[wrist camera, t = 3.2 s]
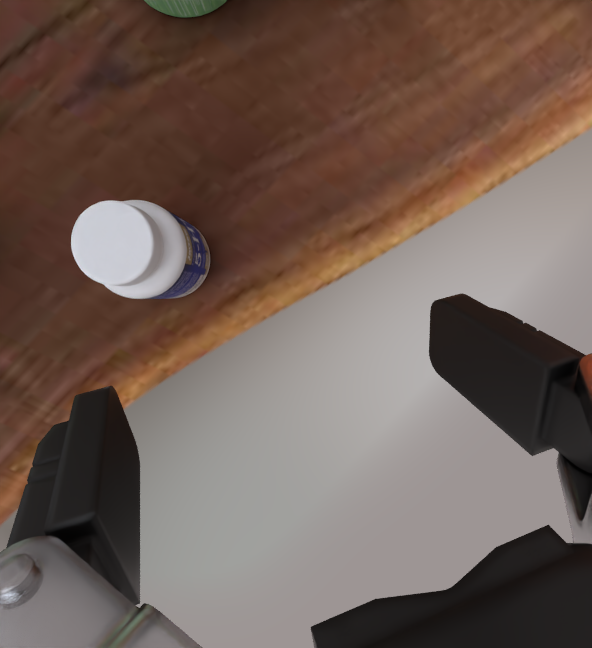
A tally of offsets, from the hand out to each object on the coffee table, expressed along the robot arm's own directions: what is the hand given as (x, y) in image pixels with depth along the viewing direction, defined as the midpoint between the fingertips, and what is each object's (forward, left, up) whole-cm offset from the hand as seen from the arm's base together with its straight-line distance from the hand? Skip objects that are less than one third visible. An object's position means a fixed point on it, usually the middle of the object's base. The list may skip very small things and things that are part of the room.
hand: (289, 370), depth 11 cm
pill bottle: (+6, -7, -19) cm, 21 cm away
